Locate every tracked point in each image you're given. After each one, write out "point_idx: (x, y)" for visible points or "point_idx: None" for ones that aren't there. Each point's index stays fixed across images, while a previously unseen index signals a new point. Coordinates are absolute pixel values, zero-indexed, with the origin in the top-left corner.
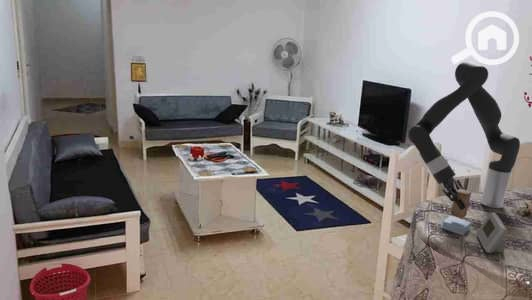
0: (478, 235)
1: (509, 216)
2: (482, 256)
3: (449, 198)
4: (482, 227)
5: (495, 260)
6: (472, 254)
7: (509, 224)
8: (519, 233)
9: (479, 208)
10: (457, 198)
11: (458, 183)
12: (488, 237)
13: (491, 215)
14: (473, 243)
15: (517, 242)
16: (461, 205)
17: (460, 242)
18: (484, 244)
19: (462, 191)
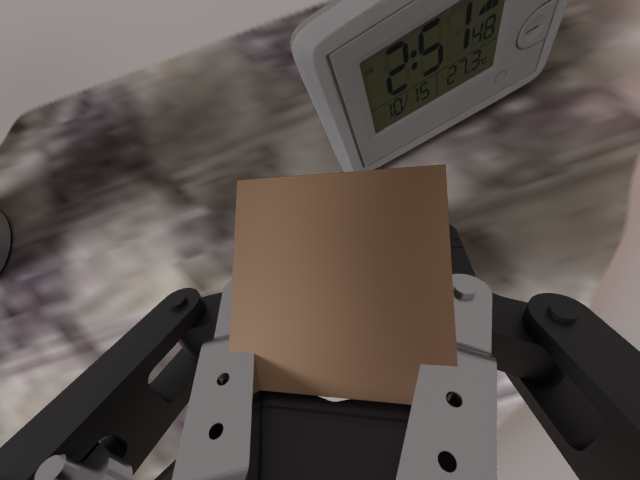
0: (392, 156)
1: (54, 158)
2: (585, 77)
3: (591, 411)
4: (370, 132)
5: (570, 27)
6: (613, 113)
7: (131, 130)
8: (191, 76)
9: (48, 271)
10: (550, 298)
11: (62, 477)
12: (503, 52)
13: (350, 38)
14: (468, 157)
15: (286, 48)
16: (458, 243)
17: (519, 203)
18: (504, 87)
19: (348, 293)
